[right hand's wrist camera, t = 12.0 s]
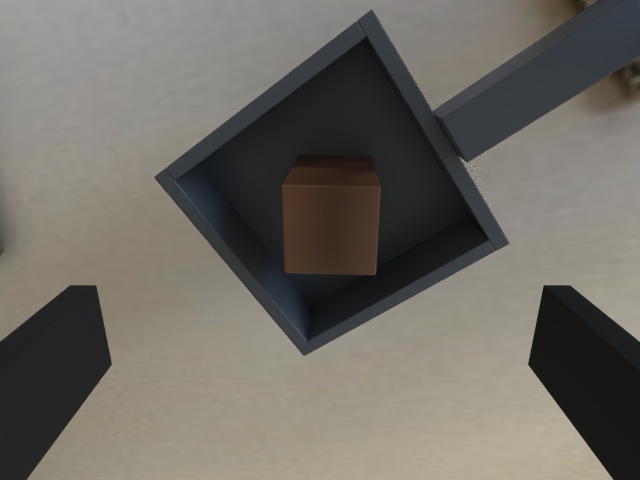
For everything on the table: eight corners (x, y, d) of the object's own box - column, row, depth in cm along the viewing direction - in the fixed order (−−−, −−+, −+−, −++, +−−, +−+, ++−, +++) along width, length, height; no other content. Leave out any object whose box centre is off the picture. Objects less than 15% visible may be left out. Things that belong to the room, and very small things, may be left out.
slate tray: (310, 313, 31) (301, 372, 25) (186, 158, 27) (140, 184, 21) (752, 57, 23) (893, 55, 17) (664, -208, 20) (805, -329, 14)
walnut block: (299, 224, 28) (284, 273, 21) (297, 154, 26) (281, 184, 20) (369, 226, 27) (376, 275, 21) (372, 155, 26) (380, 186, 19)
